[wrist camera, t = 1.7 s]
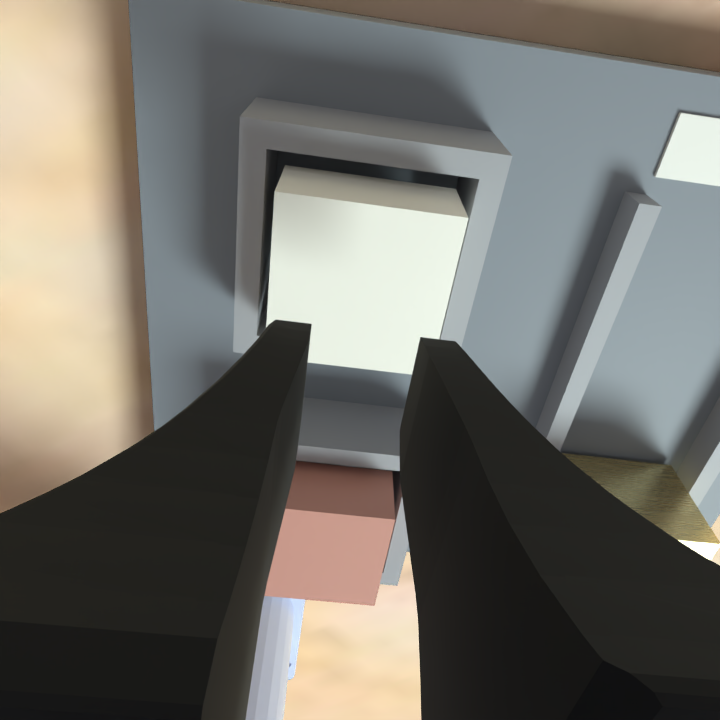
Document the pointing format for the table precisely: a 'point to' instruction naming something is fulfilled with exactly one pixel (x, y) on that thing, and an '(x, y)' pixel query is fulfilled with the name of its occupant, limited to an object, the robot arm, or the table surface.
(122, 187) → the table surface
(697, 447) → the panel
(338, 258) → the cream button
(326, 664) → the table surface
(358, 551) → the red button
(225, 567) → the robot arm
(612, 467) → the slider knob
